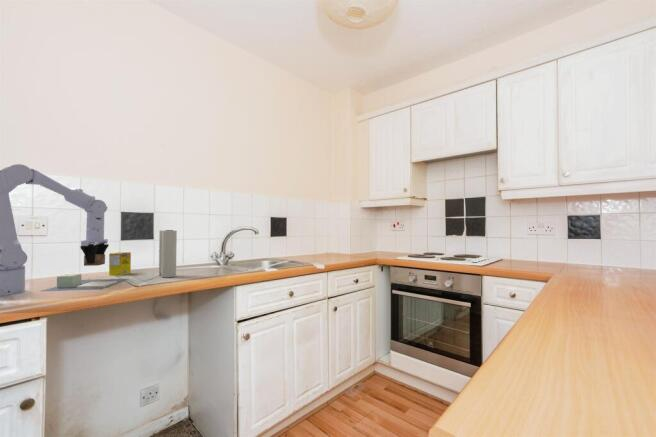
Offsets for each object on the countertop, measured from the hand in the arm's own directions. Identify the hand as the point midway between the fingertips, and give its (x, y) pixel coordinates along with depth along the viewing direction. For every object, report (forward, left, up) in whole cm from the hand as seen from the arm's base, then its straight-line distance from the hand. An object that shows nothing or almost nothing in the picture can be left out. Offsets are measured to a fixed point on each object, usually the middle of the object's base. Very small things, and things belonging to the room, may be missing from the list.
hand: (94, 262), depth 121 cm
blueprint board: (-7, -3, -8) cm, 12 cm away
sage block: (-10, +3, -7) cm, 13 cm away
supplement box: (+16, -2, -9) cm, 18 cm away
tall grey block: (+12, -24, -9) cm, 28 cm away
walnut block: (0, 0, -1) cm, 1 cm away
